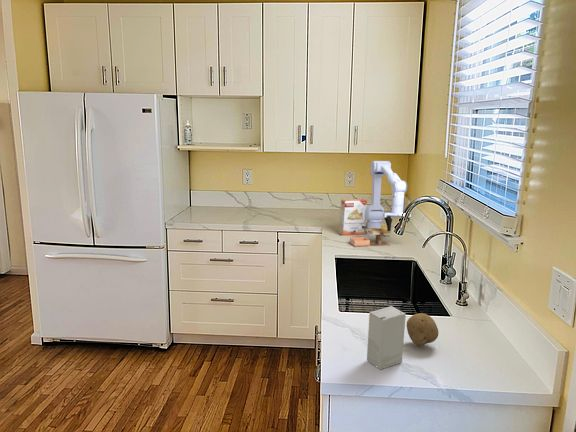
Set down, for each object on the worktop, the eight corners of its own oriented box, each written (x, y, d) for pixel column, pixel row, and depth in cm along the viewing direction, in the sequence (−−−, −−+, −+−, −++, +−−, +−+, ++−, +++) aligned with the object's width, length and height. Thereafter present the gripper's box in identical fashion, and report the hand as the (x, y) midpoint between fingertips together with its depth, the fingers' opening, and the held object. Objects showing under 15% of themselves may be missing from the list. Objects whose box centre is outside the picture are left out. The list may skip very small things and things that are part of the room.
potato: (431, 339, 143) (434, 308, 141) (441, 353, 134) (444, 320, 132) (401, 338, 143) (404, 308, 141) (410, 353, 134) (413, 320, 132)
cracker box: (343, 236, 267) (345, 200, 263) (338, 234, 273) (340, 199, 269) (365, 235, 272) (367, 200, 267) (360, 233, 277) (362, 198, 273)
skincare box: (388, 354, 133) (391, 305, 130) (403, 363, 128) (407, 312, 125) (365, 361, 129) (368, 310, 126) (379, 371, 124) (383, 318, 121)
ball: (378, 230, 251) (381, 224, 250) (384, 232, 252) (387, 226, 251) (381, 231, 247) (384, 225, 247) (387, 233, 248) (389, 227, 248)
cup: (349, 242, 250) (349, 237, 249) (364, 242, 252) (364, 237, 251) (354, 246, 243) (354, 240, 243) (369, 245, 245) (369, 240, 245)
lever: (360, 230, 258) (361, 223, 257) (379, 231, 260) (380, 225, 260) (369, 236, 245) (370, 229, 244) (389, 237, 248) (390, 230, 247)
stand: (347, 244, 251) (348, 229, 249) (384, 242, 256) (385, 228, 254) (353, 248, 243) (354, 233, 241) (391, 247, 247) (392, 232, 246)
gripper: (388, 206, 233) (386, 232, 236) (414, 205, 236) (412, 232, 239) (382, 203, 240) (380, 229, 243) (407, 203, 243) (405, 228, 246)
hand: (395, 230), depth 241 cm, fingers open, 7 cm apart
